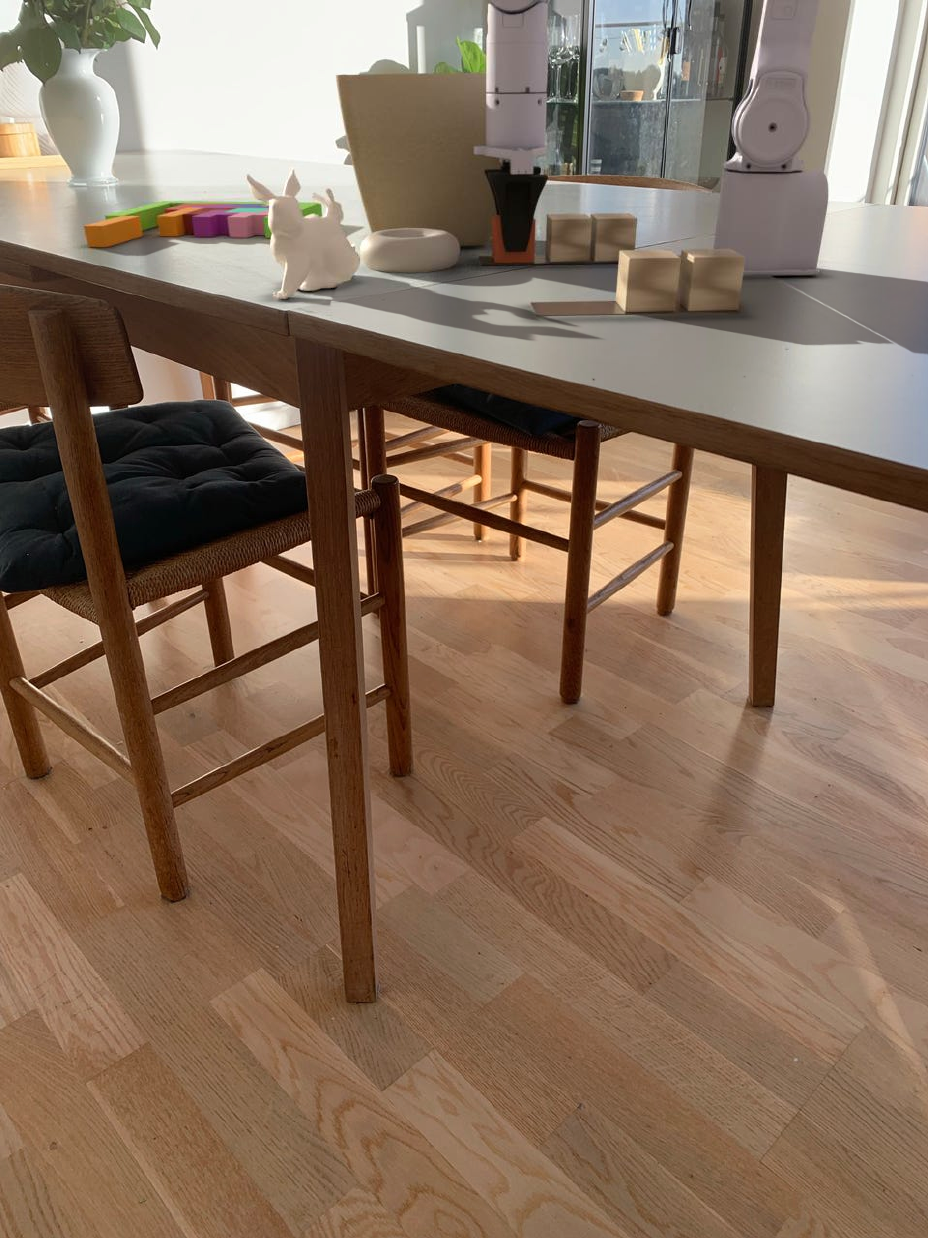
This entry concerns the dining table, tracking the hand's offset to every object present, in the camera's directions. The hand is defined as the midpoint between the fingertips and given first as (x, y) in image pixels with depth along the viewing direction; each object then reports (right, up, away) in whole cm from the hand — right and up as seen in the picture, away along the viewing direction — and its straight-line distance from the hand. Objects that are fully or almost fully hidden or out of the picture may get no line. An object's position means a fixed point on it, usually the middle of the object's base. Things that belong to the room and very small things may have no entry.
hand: (513, 247), depth 93 cm
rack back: (+5, -1, +1) cm, 5 cm away
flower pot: (-9, +6, +14) cm, 18 cm away
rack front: (+8, -13, -19) cm, 25 cm away
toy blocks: (-38, +11, +22) cm, 45 cm away
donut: (-10, -3, -1) cm, 11 cm away
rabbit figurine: (-20, -7, -8) cm, 23 cm away
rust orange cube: (0, -1, +1) cm, 1 cm away
